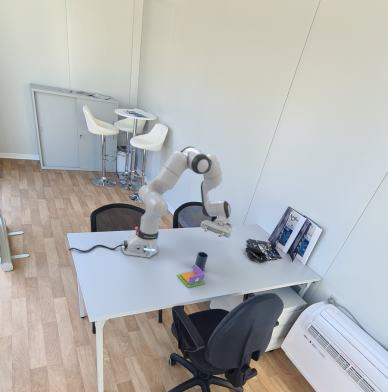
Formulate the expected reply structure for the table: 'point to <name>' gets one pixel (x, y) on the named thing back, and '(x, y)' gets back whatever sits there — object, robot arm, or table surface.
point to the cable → (254, 255)
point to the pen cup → (201, 260)
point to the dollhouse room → (193, 277)
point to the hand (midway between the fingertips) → (212, 233)
